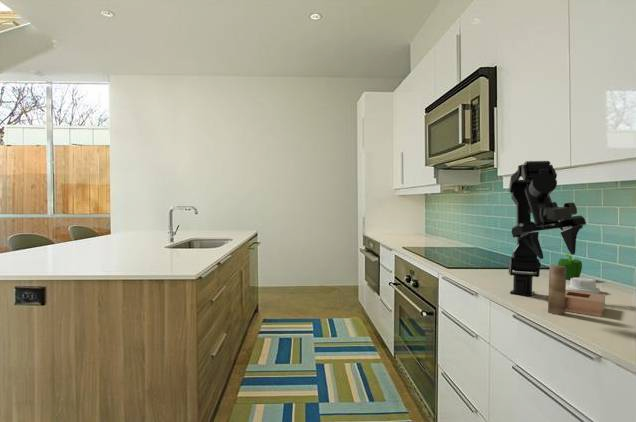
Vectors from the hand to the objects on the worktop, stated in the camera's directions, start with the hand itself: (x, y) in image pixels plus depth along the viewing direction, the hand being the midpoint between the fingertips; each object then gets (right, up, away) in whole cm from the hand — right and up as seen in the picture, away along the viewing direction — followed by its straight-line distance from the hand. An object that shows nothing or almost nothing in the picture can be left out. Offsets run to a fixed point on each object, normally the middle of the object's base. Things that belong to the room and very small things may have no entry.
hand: (557, 256), depth 111 cm
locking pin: (+1, -16, +2) cm, 16 cm away
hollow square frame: (+11, -16, +8) cm, 21 cm away
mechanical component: (+28, -16, +32) cm, 46 cm away
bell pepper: (+38, -16, +55) cm, 69 cm away
